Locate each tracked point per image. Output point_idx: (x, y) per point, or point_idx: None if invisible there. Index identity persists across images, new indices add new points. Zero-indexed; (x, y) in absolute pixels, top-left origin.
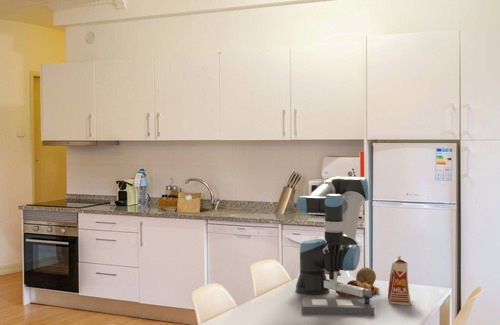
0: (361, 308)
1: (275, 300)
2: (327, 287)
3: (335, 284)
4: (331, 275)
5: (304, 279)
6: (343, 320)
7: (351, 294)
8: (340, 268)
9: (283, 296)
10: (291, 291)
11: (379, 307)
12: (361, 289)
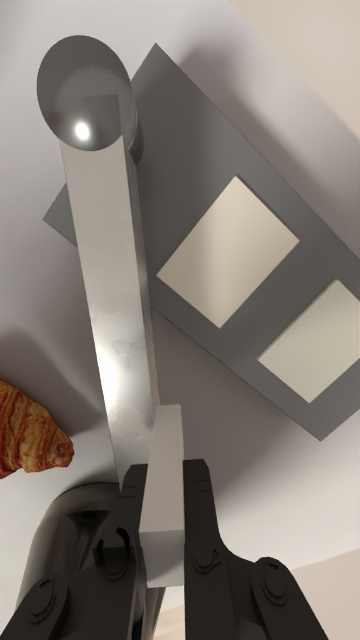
0: (220, 116)
1: (316, 510)
2: None
3: (171, 418)
4: (213, 501)
5: (154, 604)
6: (355, 135)
7: (23, 399)
8: (48, 584)
9: (254, 530)
10: None
11: (25, 184)
12: (123, 150)
